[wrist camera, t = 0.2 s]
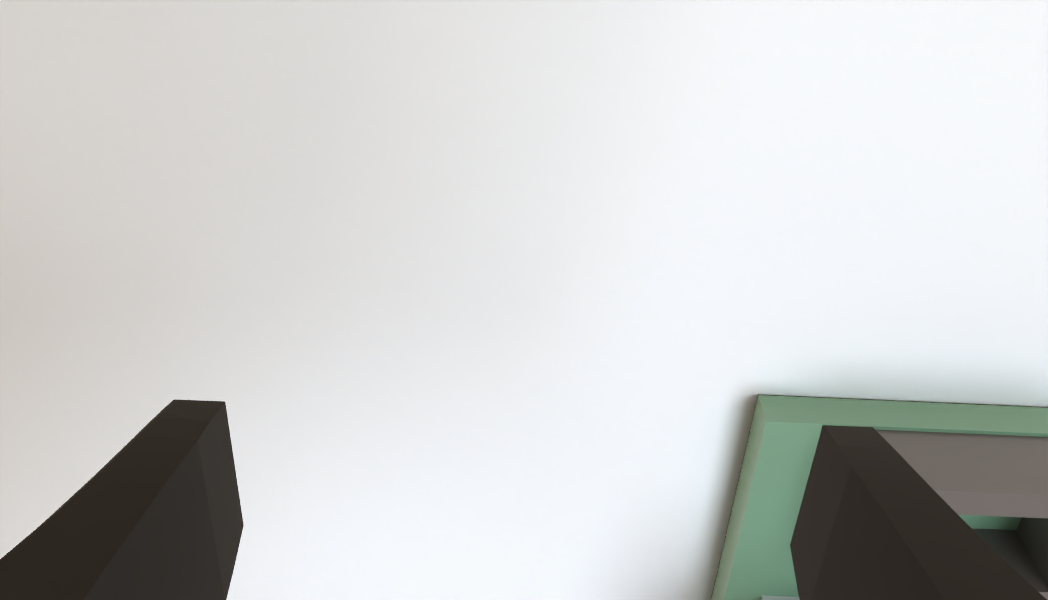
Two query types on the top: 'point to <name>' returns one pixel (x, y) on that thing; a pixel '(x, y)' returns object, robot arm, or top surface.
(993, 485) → the block
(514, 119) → the top surface
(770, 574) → the board
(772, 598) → the plug
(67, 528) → the robot arm
